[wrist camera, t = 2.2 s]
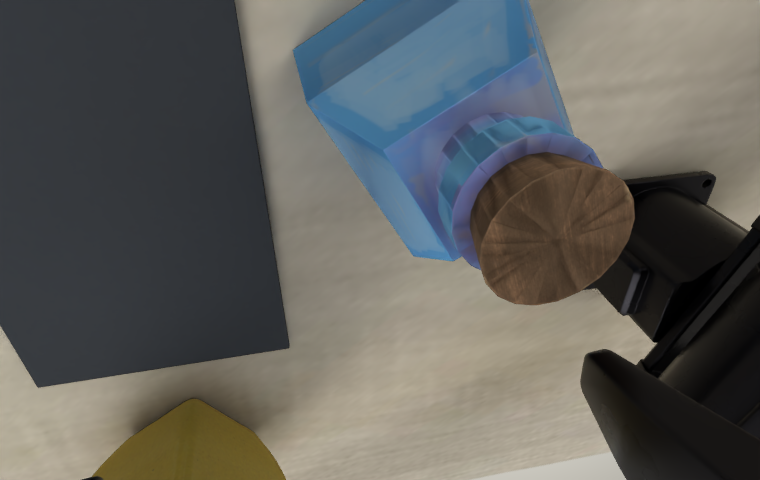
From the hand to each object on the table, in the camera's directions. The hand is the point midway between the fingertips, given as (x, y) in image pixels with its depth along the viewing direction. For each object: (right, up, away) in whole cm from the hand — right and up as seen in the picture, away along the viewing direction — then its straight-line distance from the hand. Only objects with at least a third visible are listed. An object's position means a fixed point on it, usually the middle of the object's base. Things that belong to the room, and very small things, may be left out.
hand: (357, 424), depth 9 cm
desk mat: (-10, +6, +10) cm, 15 cm away
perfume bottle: (+1, +10, +10) cm, 14 cm away
